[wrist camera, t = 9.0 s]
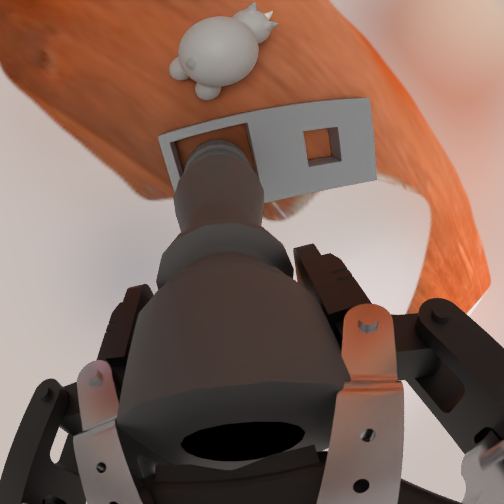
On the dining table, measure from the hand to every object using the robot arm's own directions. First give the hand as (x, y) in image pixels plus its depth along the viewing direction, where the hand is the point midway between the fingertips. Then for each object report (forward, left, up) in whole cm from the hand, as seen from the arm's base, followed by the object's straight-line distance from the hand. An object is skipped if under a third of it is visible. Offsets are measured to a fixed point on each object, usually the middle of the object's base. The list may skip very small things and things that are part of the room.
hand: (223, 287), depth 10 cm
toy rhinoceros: (-12, +4, -23) cm, 27 cm away
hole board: (0, +7, -23) cm, 24 cm away
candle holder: (0, 0, -19) cm, 19 cm away
